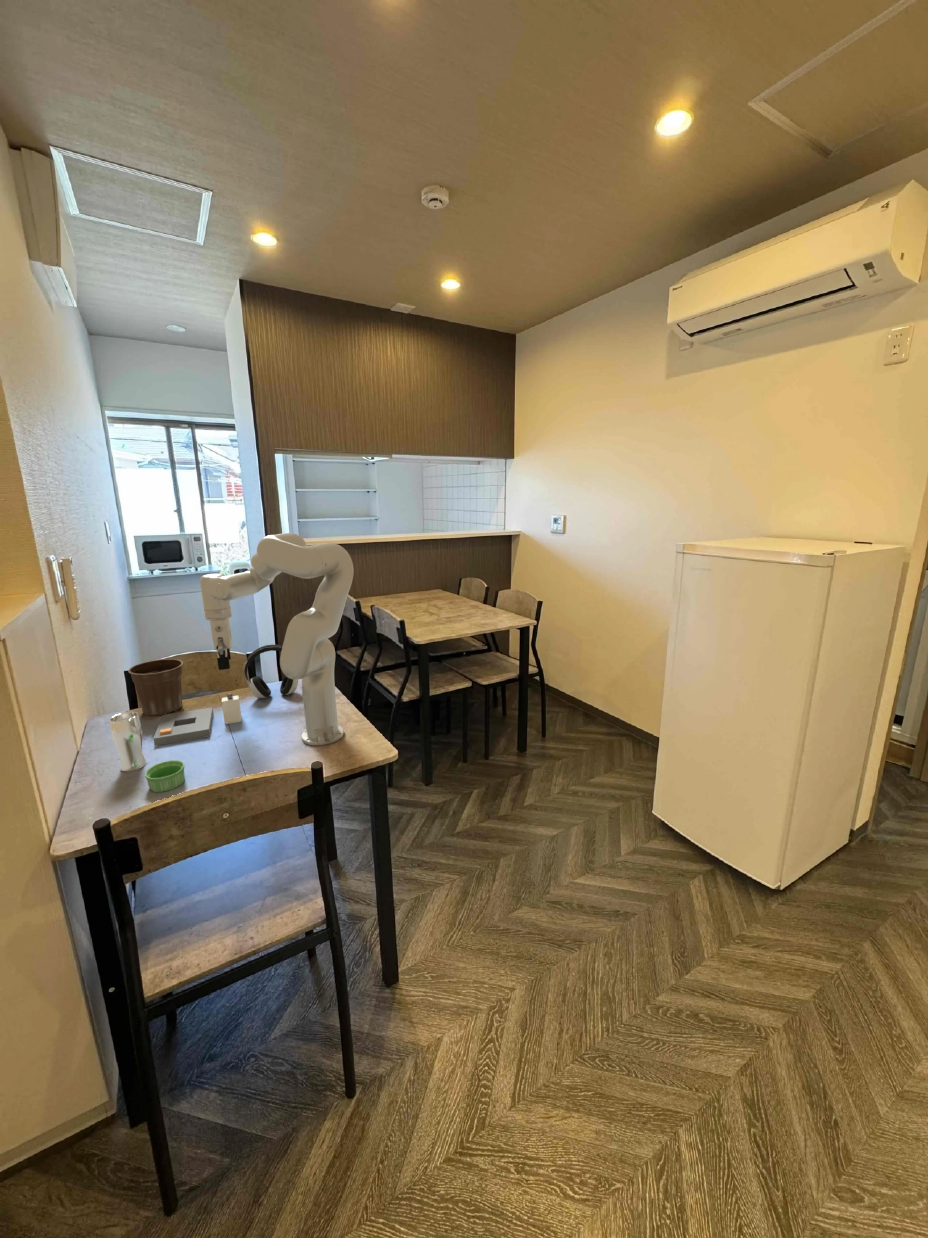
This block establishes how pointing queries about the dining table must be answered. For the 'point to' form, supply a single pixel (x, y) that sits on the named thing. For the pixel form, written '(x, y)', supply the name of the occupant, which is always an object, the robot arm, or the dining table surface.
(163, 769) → the ramekin
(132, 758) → the beer glass
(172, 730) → the socket
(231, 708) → the plug
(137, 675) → the plant pot
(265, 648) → the headphones
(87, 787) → the dining table surface
